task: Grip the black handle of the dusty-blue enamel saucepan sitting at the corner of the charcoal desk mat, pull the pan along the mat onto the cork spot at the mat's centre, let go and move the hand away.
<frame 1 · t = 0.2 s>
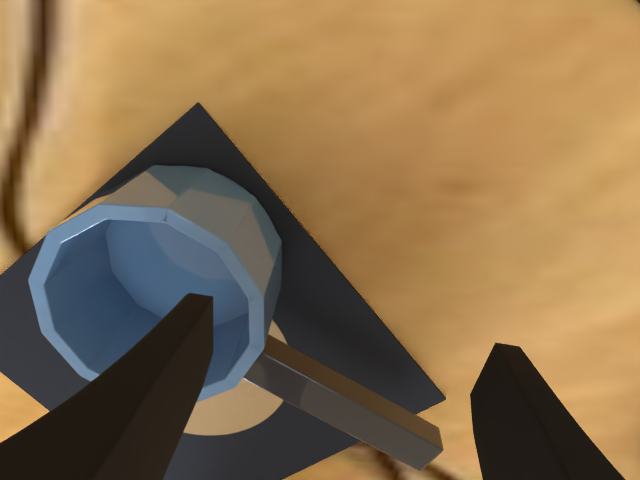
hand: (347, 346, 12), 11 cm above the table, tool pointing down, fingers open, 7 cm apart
desk mat: (194, 360, 26), on the table
pot: (192, 252, 23), resting on desk mat
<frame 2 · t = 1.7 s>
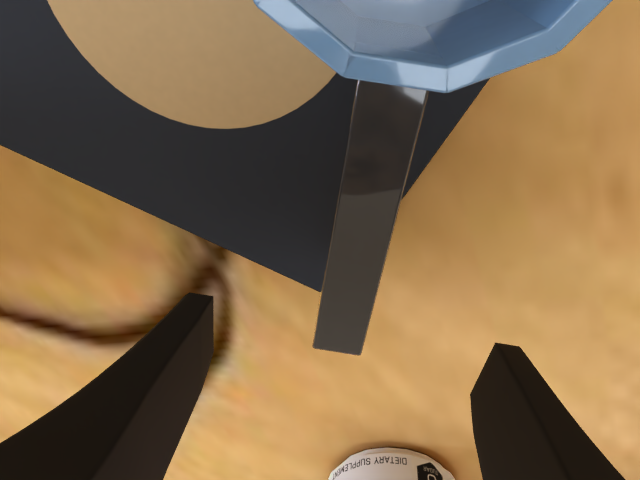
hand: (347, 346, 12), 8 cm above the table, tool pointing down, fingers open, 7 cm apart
supplement can: (391, 476, 30), on the table
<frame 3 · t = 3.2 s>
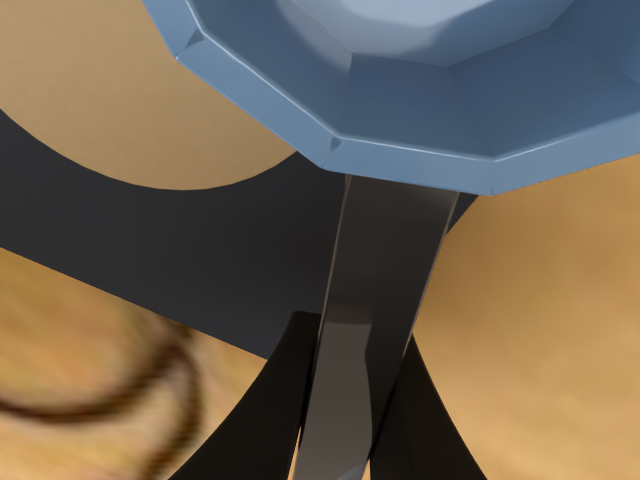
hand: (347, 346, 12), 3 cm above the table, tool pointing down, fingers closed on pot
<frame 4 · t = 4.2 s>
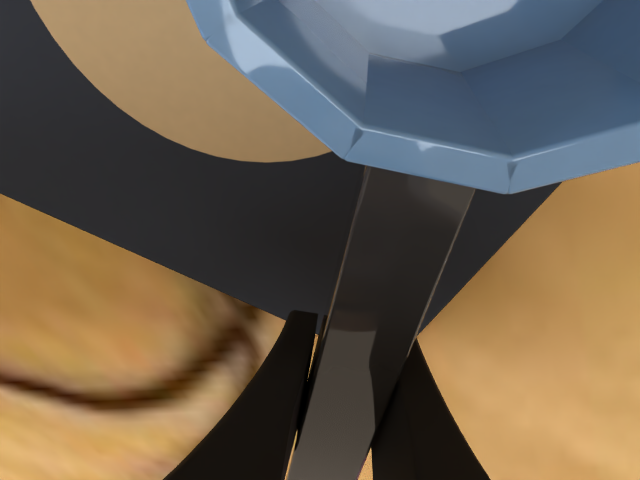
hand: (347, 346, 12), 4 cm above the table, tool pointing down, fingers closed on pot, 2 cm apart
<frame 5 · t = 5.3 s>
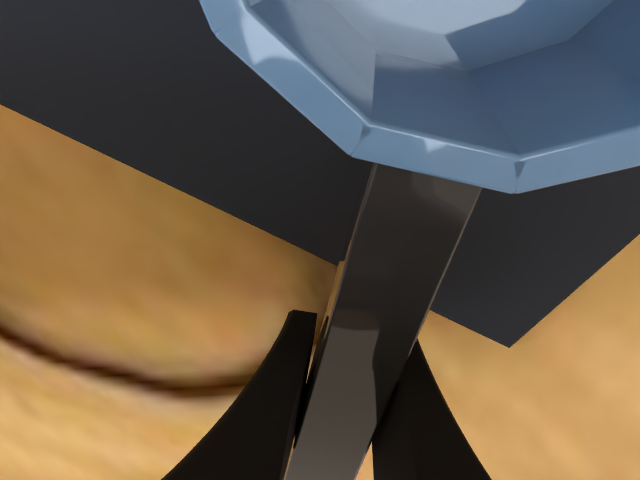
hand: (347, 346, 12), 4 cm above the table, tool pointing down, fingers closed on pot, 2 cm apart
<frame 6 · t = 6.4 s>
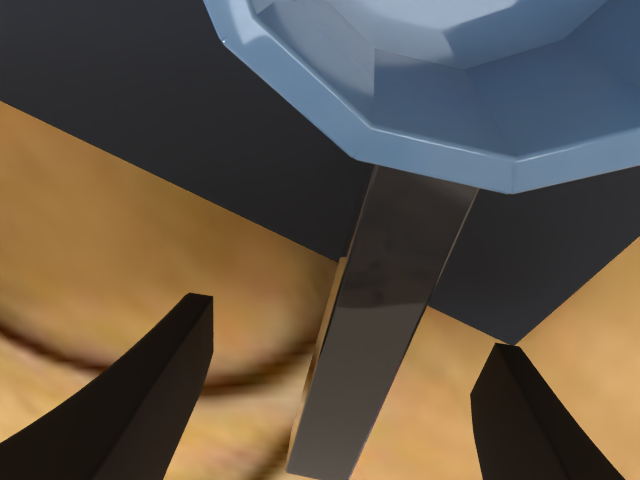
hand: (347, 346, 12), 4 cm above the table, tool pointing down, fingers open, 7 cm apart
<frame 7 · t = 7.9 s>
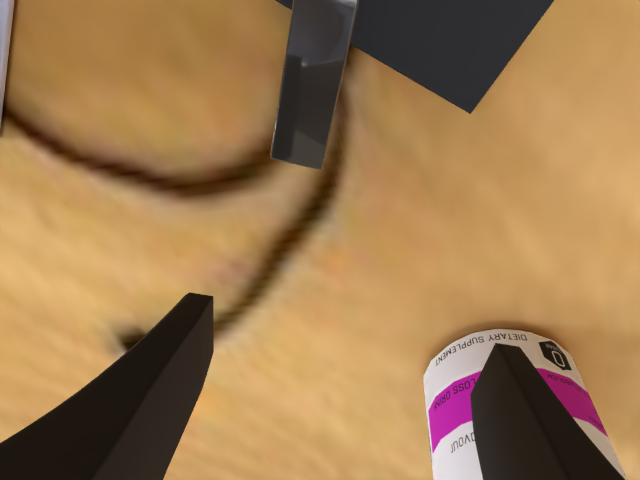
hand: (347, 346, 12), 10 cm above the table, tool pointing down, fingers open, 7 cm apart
supplement can: (494, 369, 27), on the table
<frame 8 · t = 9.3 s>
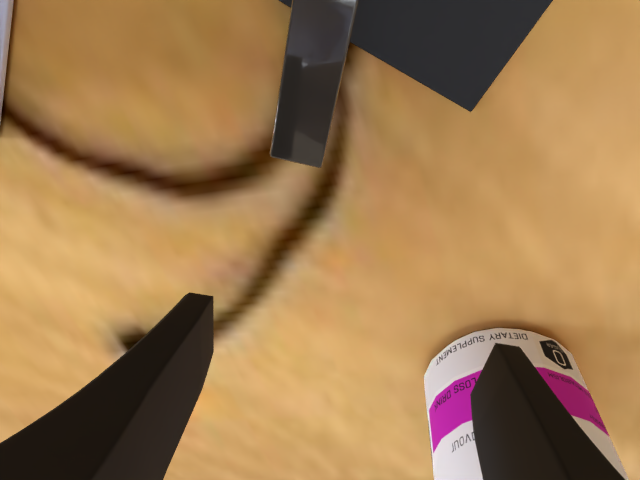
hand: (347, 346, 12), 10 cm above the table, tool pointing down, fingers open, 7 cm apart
supplement can: (495, 369, 27), on the table
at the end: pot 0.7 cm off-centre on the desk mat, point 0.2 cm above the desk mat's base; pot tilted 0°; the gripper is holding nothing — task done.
